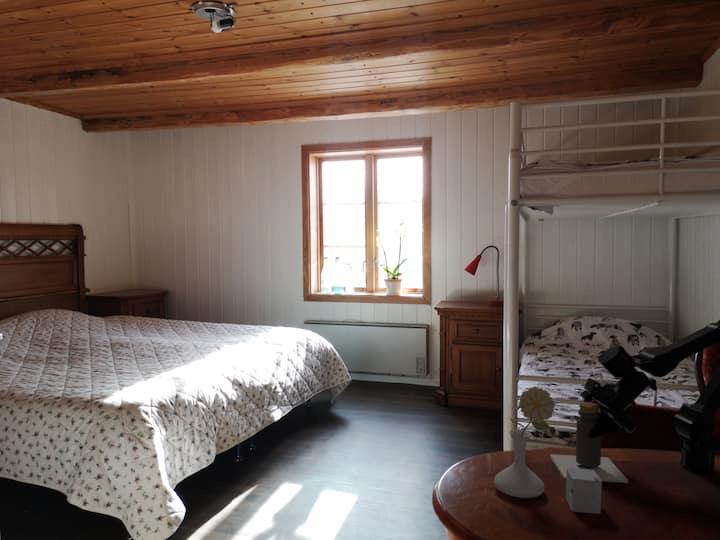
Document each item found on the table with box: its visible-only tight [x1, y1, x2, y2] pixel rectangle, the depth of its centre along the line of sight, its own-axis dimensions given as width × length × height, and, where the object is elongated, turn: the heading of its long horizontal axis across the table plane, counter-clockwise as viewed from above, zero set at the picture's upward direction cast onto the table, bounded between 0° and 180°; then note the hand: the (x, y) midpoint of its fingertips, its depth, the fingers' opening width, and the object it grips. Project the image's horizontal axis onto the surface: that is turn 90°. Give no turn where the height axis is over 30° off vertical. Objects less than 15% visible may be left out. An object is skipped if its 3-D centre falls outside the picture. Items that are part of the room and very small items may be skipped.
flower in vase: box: [493, 386, 556, 499], centre depth 122 cm, size 13×11×25 cm
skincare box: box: [565, 468, 603, 515], centre depth 116 cm, size 6×6×7 cm
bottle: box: [575, 401, 602, 467], centre depth 135 cm, size 6×6×15 cm
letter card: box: [549, 454, 629, 484], centre depth 136 cm, size 15×14×1 cm
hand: (583, 433), depth 135 cm, fingers closed on bottle, 6 cm apart
